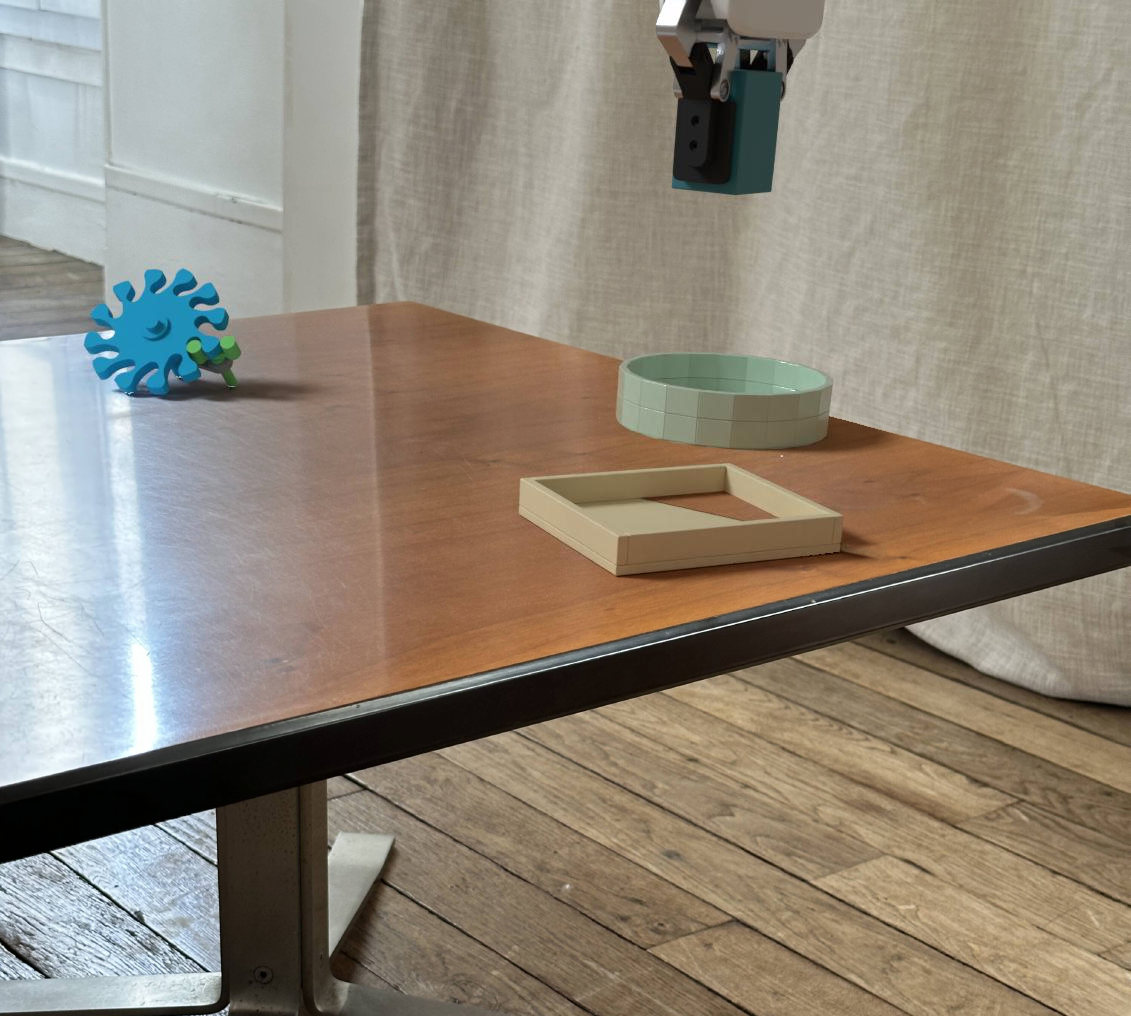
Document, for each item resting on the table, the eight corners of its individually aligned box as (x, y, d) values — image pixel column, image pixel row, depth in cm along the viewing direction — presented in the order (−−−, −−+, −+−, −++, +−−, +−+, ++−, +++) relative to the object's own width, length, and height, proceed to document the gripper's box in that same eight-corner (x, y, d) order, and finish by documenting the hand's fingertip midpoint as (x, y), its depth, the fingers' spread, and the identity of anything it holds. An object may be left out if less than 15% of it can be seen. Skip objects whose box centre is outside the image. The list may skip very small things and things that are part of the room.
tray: (726, 496, 92) (729, 462, 91) (840, 552, 83) (844, 515, 82) (518, 514, 86) (519, 477, 86) (615, 576, 77) (618, 536, 76)
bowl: (752, 405, 116) (758, 348, 114) (868, 450, 104) (876, 389, 103) (580, 414, 110) (583, 355, 108) (682, 464, 99) (688, 399, 97)
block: (708, 185, 89) (717, 68, 86) (772, 192, 87) (783, 72, 84) (670, 188, 86) (679, 66, 83) (736, 195, 84) (747, 70, 81)
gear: (54, 362, 108) (123, 246, 111) (89, 411, 113) (155, 299, 116) (193, 405, 105) (261, 285, 108) (223, 454, 111) (287, 338, 113)
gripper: (741, -246, 70) (705, 194, 78) (897, -193, 83) (853, 181, 91) (599, -239, 74) (577, 180, 82) (769, -189, 87) (737, 169, 94)
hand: (723, 176), depth 86 cm, fingers closed on block, 4 cm apart
